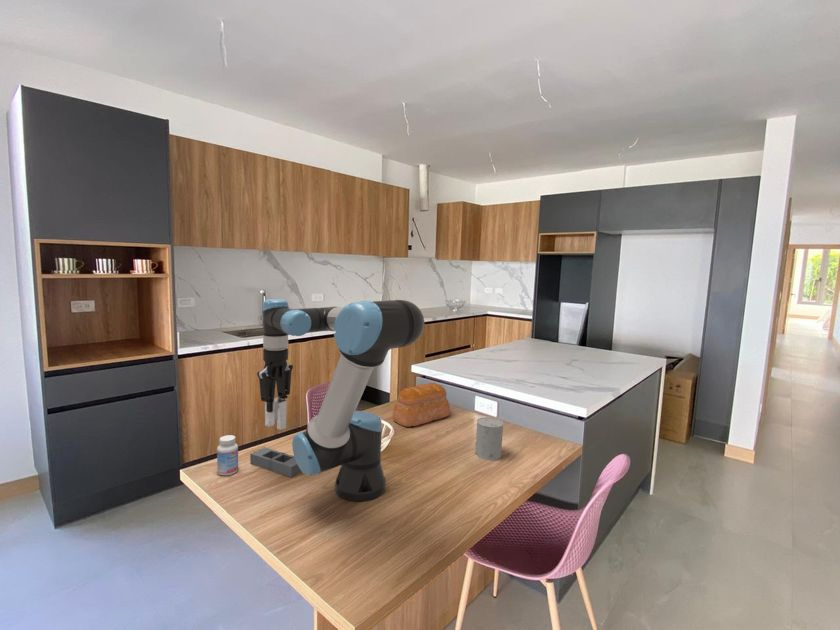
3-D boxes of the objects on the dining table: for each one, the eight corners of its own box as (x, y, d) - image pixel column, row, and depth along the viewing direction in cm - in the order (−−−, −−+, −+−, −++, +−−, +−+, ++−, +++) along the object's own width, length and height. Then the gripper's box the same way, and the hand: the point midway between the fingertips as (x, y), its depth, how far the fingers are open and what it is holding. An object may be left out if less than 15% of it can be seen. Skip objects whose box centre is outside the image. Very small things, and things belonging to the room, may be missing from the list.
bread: (453, 417, 192) (454, 384, 190) (408, 430, 175) (409, 394, 173) (432, 408, 202) (434, 377, 200) (388, 420, 185) (389, 386, 183)
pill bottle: (230, 477, 132) (230, 443, 130) (213, 474, 133) (212, 440, 131) (242, 468, 137) (242, 435, 136) (225, 466, 139) (225, 433, 137)
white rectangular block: (286, 427, 137) (286, 400, 136) (280, 430, 135) (280, 402, 133) (271, 423, 140) (271, 397, 139) (264, 426, 137) (264, 399, 136)
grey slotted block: (304, 469, 138) (304, 459, 138) (291, 477, 133) (291, 467, 132) (264, 456, 146) (264, 447, 146) (250, 463, 141) (250, 453, 140)
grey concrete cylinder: (472, 457, 152) (473, 424, 151) (478, 446, 161) (480, 415, 160) (498, 462, 149) (500, 429, 147) (503, 451, 158) (505, 420, 156)
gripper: (284, 343, 143) (284, 410, 146) (247, 350, 129) (247, 425, 131) (302, 345, 140) (301, 414, 142) (265, 353, 125) (266, 429, 128)
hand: (275, 419), depth 137 cm, fingers closed on white rectangular block, 3 cm apart
